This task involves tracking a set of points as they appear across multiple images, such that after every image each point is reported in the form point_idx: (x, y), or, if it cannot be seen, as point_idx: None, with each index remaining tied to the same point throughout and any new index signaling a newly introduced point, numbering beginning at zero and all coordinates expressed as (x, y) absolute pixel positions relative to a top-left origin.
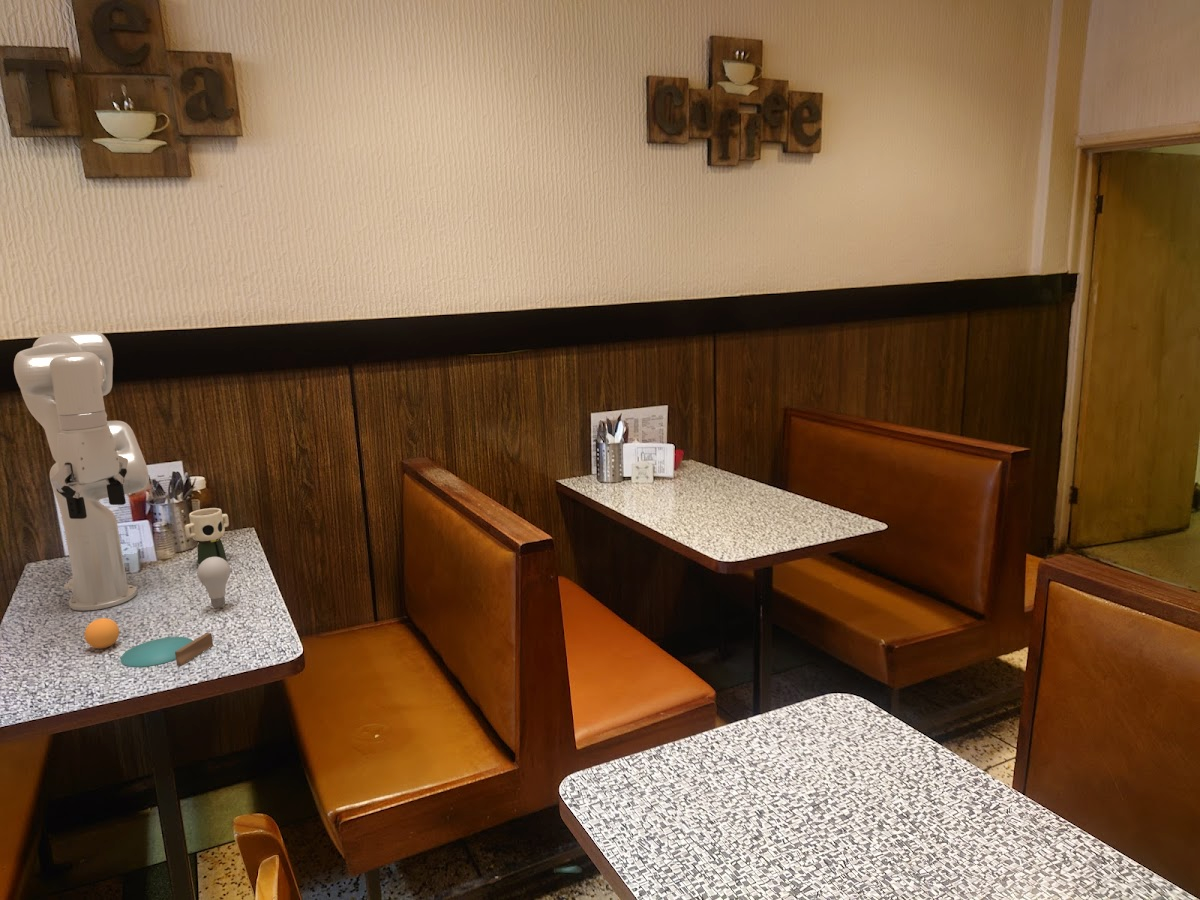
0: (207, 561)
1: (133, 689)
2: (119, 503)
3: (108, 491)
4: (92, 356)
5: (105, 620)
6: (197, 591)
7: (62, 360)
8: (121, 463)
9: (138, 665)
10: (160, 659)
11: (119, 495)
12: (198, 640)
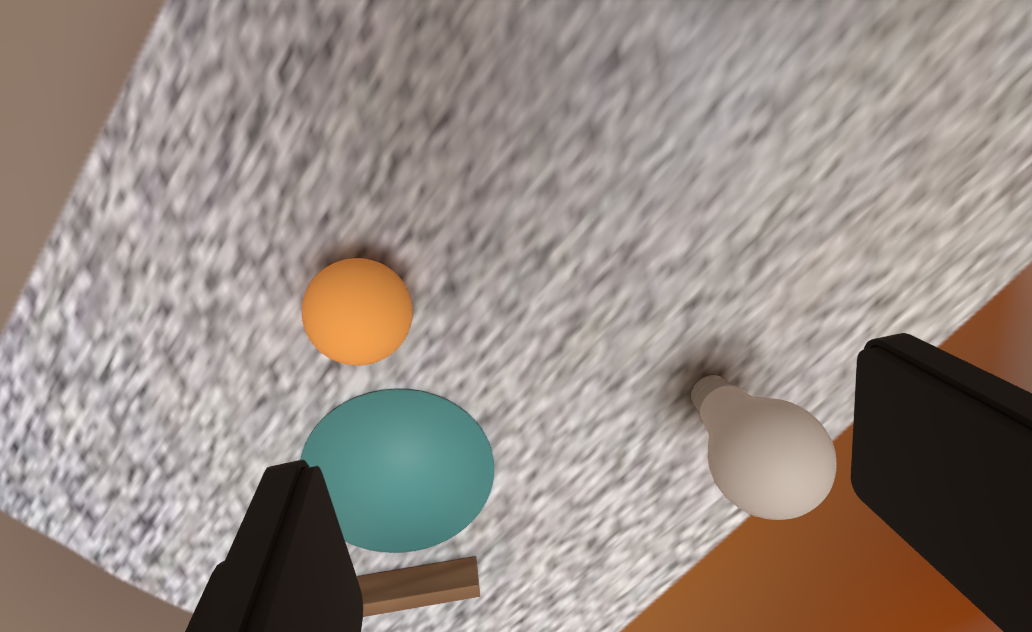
0: (771, 493)
1: None
2: (857, 467)
3: (997, 438)
4: None
5: (360, 350)
6: (835, 190)
7: None
8: None
9: None
10: (360, 524)
11: (930, 539)
12: (430, 604)
